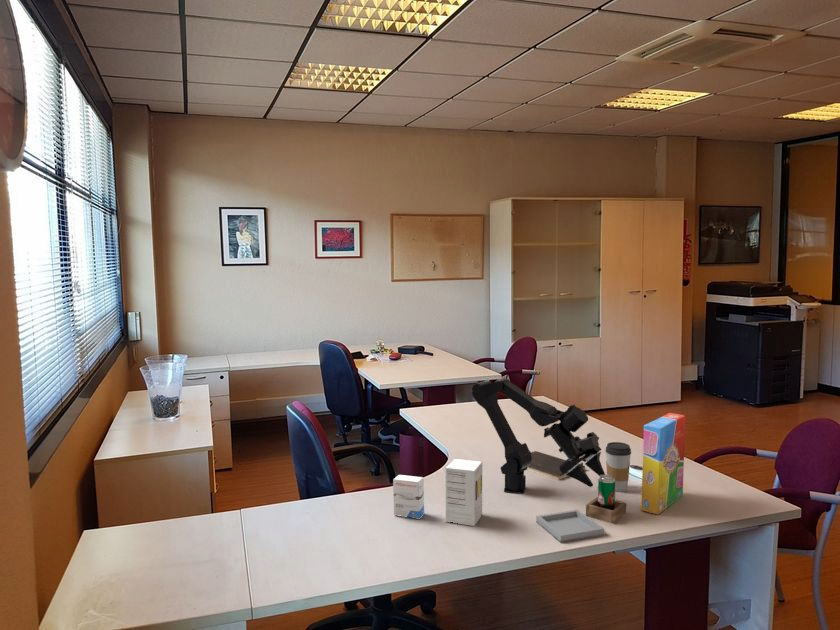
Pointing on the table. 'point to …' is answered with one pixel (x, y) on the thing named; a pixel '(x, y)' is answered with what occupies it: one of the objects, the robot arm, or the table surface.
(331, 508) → the table surface
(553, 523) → the grey tray
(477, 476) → the supplement box
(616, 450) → the coffee cup
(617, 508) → the walnut cup-holder
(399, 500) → the ink box
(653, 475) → the game box
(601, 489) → the soda can
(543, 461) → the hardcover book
